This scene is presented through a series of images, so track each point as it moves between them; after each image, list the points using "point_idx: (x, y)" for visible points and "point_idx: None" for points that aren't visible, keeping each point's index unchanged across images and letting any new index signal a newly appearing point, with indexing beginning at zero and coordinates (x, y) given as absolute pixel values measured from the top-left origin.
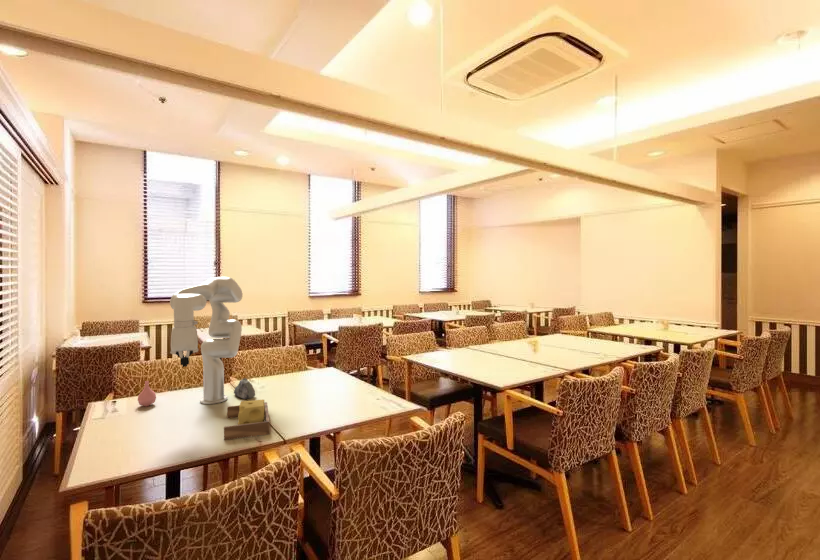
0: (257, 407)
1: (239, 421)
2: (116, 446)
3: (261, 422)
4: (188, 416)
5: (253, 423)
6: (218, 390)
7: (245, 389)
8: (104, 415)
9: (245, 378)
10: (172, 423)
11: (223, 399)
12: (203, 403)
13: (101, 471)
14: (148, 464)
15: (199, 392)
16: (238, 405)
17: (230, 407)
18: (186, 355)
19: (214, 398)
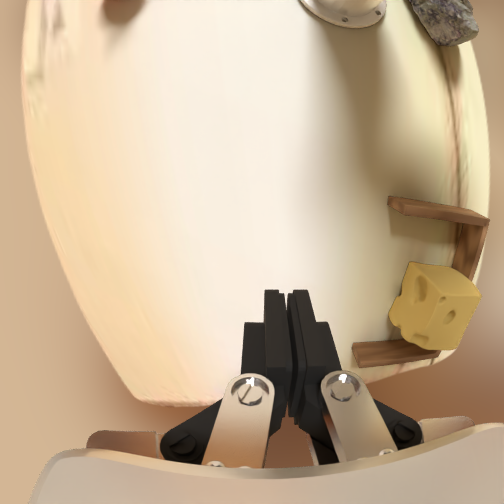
0: (445, 348)
1: (400, 327)
2: (127, 297)
3: (426, 357)
4: (269, 121)
5: (413, 359)
6: (376, 2)
7: (453, 31)
8: (41, 56)
9: (469, 2)
10: (223, 176)
11: (378, 19)
12: (310, 10)
13: (155, 383)
14: (220, 390)
15: None
16: (434, 210)
17: (412, 215)
18: (313, 444)
19: (352, 12)
